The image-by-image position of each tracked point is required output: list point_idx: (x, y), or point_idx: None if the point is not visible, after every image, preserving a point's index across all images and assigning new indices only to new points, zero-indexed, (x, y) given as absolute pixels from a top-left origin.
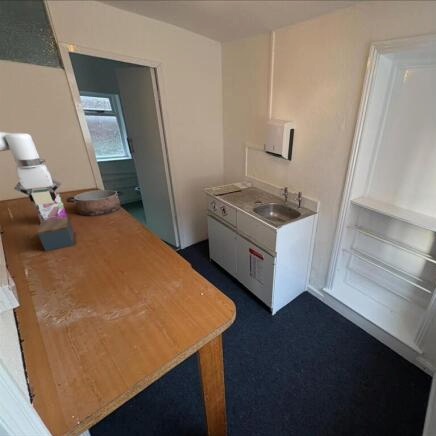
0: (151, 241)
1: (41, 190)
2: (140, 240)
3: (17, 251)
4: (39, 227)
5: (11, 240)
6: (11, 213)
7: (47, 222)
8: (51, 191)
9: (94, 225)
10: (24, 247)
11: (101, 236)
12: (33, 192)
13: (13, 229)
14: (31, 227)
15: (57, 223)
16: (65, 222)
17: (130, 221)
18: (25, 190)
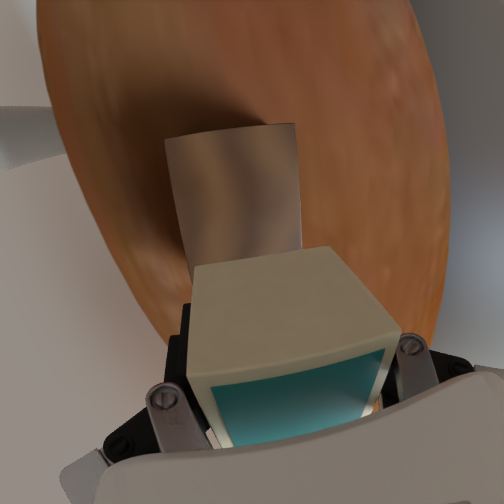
0: (432, 306)
1: (309, 403)
2: (422, 293)
3: (115, 229)
4: (188, 257)
5: (63, 115)
6: None
7: (204, 191)
8: (386, 393)
9: (336, 77)
10: (122, 202)
11: (359, 217)
12: (237, 445)
13: (53, 15)
14: (98, 3)
15: (259, 231)
16: (294, 233)
17: (438, 122)
18: (145, 448)
